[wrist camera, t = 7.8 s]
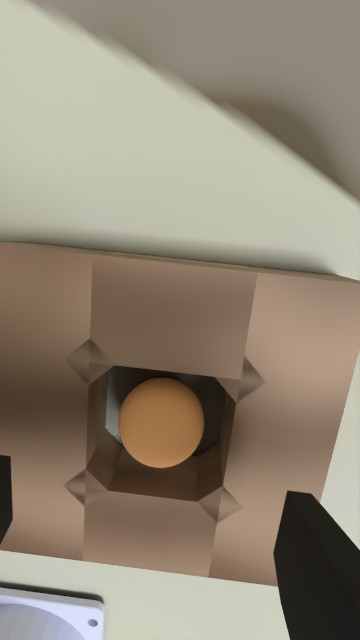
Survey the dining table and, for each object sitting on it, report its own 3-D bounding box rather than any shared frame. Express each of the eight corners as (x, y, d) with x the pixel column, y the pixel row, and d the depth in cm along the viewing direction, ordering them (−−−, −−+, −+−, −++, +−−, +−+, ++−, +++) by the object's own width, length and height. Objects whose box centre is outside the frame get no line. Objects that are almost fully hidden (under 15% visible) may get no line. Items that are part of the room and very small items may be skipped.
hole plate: (280, 531, 15) (297, 589, 12) (28, 499, 15) (-4, 549, 13) (339, 275, 12) (376, 284, 9) (22, 241, 12) (-21, 242, 10)
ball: (198, 436, 14) (200, 494, 11) (125, 428, 14) (106, 483, 11) (206, 369, 13) (212, 409, 10) (129, 360, 13) (111, 398, 10)
